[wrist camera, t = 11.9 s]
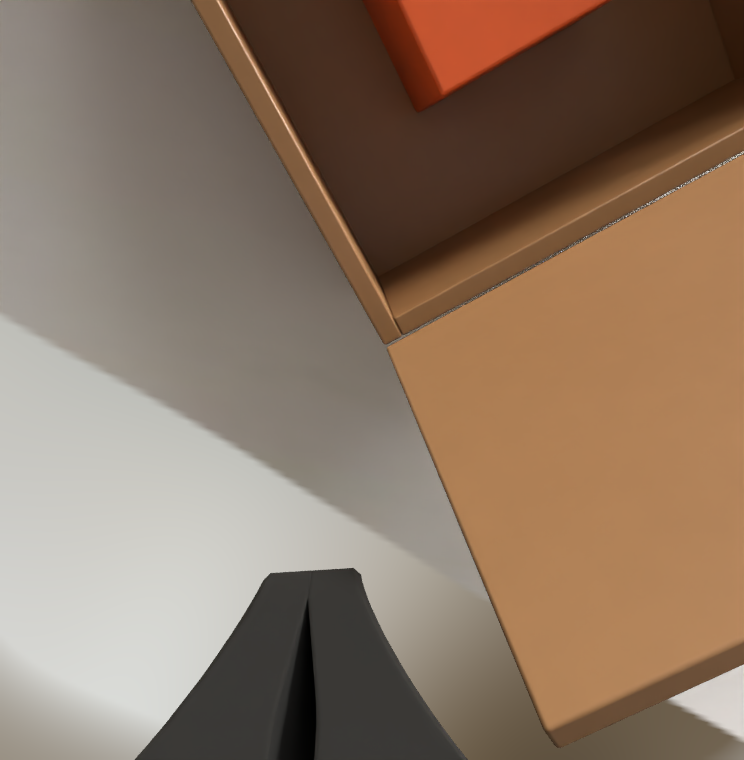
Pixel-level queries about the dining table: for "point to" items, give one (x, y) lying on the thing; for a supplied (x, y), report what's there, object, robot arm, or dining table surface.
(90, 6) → the dining table surface
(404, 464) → the dining table surface
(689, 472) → the flap
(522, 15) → the block
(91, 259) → the dining table surface
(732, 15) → the box
